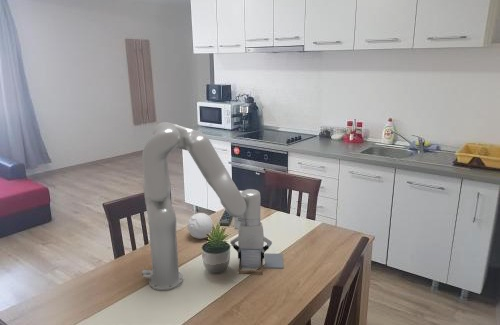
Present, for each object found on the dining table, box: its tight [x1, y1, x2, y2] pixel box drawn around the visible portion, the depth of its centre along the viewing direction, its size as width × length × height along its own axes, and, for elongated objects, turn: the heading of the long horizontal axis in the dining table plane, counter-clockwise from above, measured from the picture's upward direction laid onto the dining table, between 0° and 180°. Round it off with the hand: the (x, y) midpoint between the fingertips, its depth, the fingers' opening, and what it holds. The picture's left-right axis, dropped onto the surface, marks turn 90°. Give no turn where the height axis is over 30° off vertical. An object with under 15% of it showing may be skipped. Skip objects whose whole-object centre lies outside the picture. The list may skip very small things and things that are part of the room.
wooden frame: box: [237, 259, 264, 276], centre depth 152 cm, size 10×14×2 cm
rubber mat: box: [264, 252, 285, 270], centre depth 155 cm, size 8×11×1 cm
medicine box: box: [241, 249, 261, 269], centre depth 151 cm, size 8×4×9 cm, turn 87°
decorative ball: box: [187, 212, 214, 239], centre depth 175 cm, size 12×12×12 cm
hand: (251, 259), depth 151 cm, fingers closed on medicine box, 8 cm apart
